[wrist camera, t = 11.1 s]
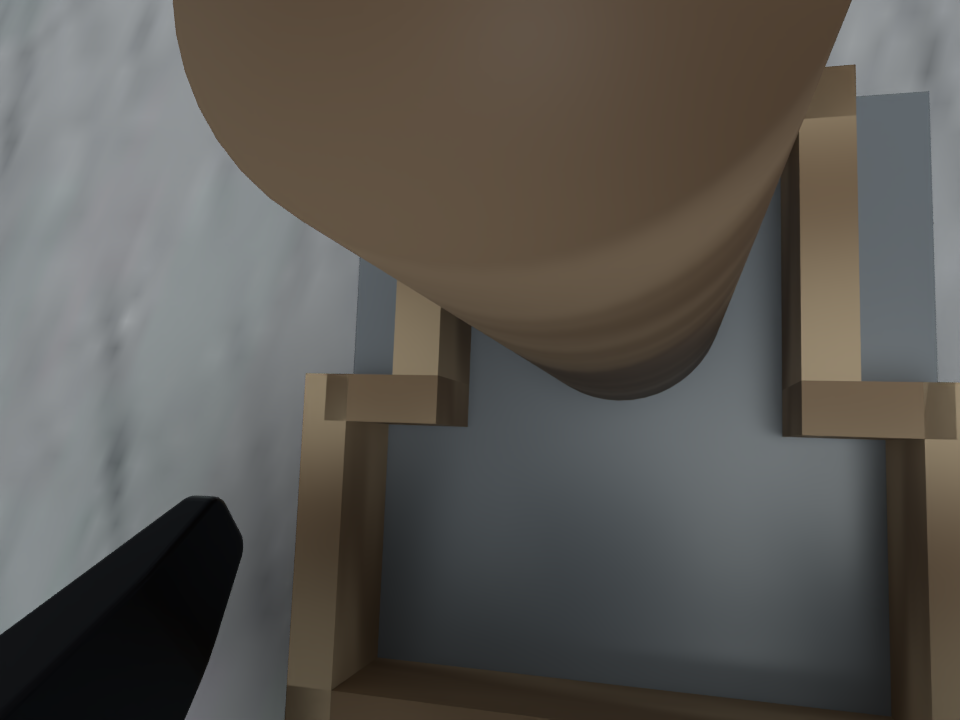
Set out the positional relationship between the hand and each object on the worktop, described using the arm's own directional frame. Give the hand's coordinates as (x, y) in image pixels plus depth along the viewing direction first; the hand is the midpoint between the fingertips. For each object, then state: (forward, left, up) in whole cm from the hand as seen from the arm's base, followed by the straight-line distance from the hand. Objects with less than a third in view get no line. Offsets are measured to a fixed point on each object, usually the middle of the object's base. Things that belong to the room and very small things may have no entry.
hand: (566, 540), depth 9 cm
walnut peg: (+2, +4, -8) cm, 9 cm away
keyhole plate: (+1, +1, -9) cm, 9 cm away
